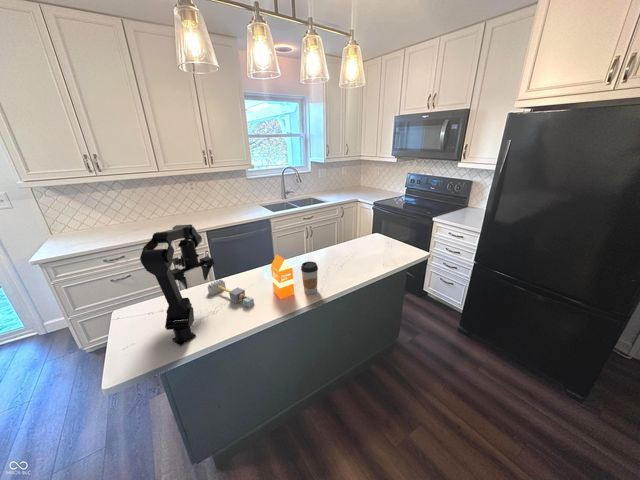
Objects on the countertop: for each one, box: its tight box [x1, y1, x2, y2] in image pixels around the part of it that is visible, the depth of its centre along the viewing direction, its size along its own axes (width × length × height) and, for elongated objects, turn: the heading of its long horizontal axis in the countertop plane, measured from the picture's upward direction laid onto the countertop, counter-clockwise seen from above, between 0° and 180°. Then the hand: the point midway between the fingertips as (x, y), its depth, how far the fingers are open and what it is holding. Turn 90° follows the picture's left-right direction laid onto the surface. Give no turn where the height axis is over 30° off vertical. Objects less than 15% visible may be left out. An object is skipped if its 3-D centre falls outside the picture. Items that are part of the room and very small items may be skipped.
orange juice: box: [270, 254, 295, 300], centre depth 127 cm, size 8×9×20 cm
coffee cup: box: [300, 261, 319, 295], centre depth 128 cm, size 8×8×15 cm
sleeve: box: [228, 287, 246, 304], centre depth 124 cm, size 5×5×4 cm
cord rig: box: [207, 278, 255, 309], centre depth 127 cm, size 28×8×5 cm, turn 56°
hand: (196, 284), depth 117 cm, fingers open, 9 cm apart
